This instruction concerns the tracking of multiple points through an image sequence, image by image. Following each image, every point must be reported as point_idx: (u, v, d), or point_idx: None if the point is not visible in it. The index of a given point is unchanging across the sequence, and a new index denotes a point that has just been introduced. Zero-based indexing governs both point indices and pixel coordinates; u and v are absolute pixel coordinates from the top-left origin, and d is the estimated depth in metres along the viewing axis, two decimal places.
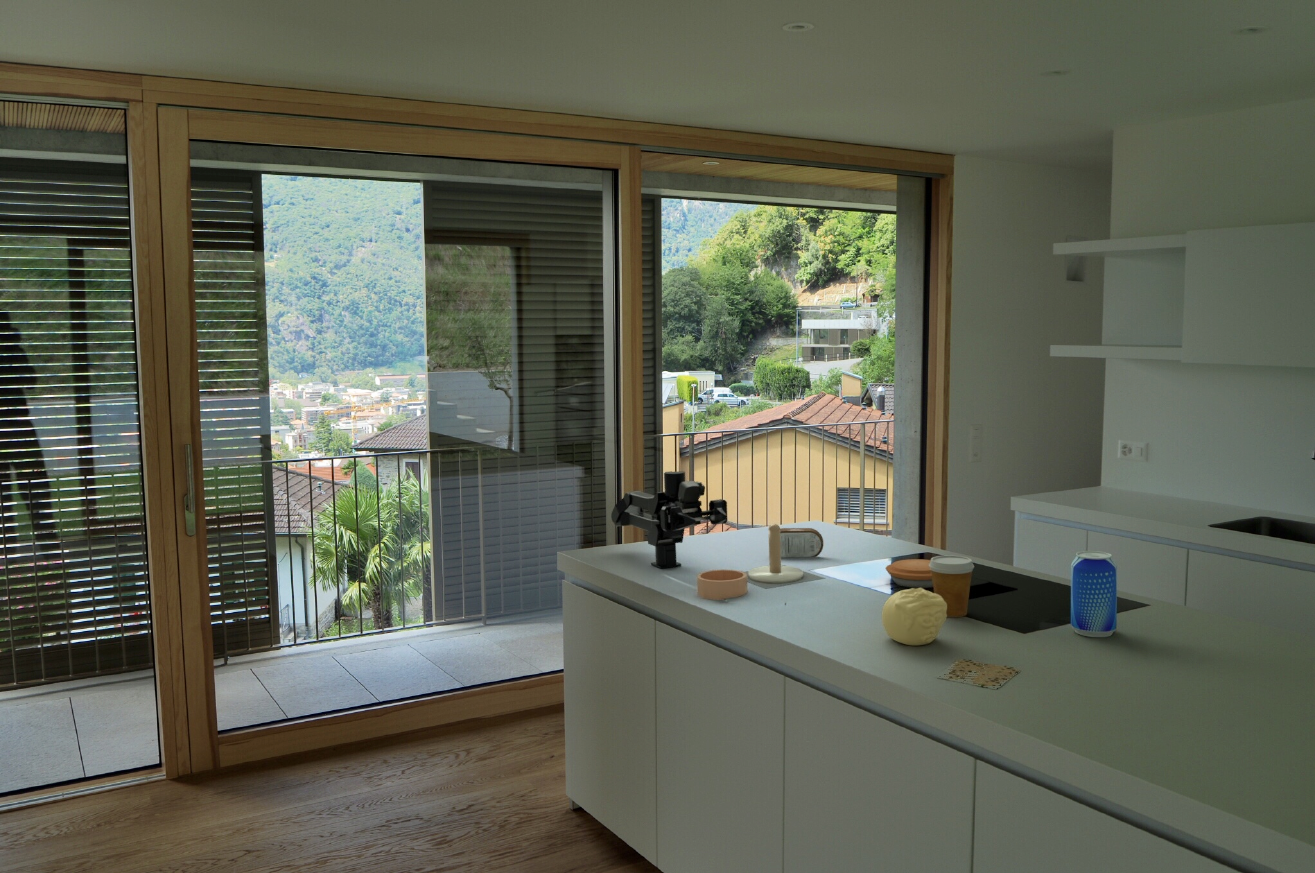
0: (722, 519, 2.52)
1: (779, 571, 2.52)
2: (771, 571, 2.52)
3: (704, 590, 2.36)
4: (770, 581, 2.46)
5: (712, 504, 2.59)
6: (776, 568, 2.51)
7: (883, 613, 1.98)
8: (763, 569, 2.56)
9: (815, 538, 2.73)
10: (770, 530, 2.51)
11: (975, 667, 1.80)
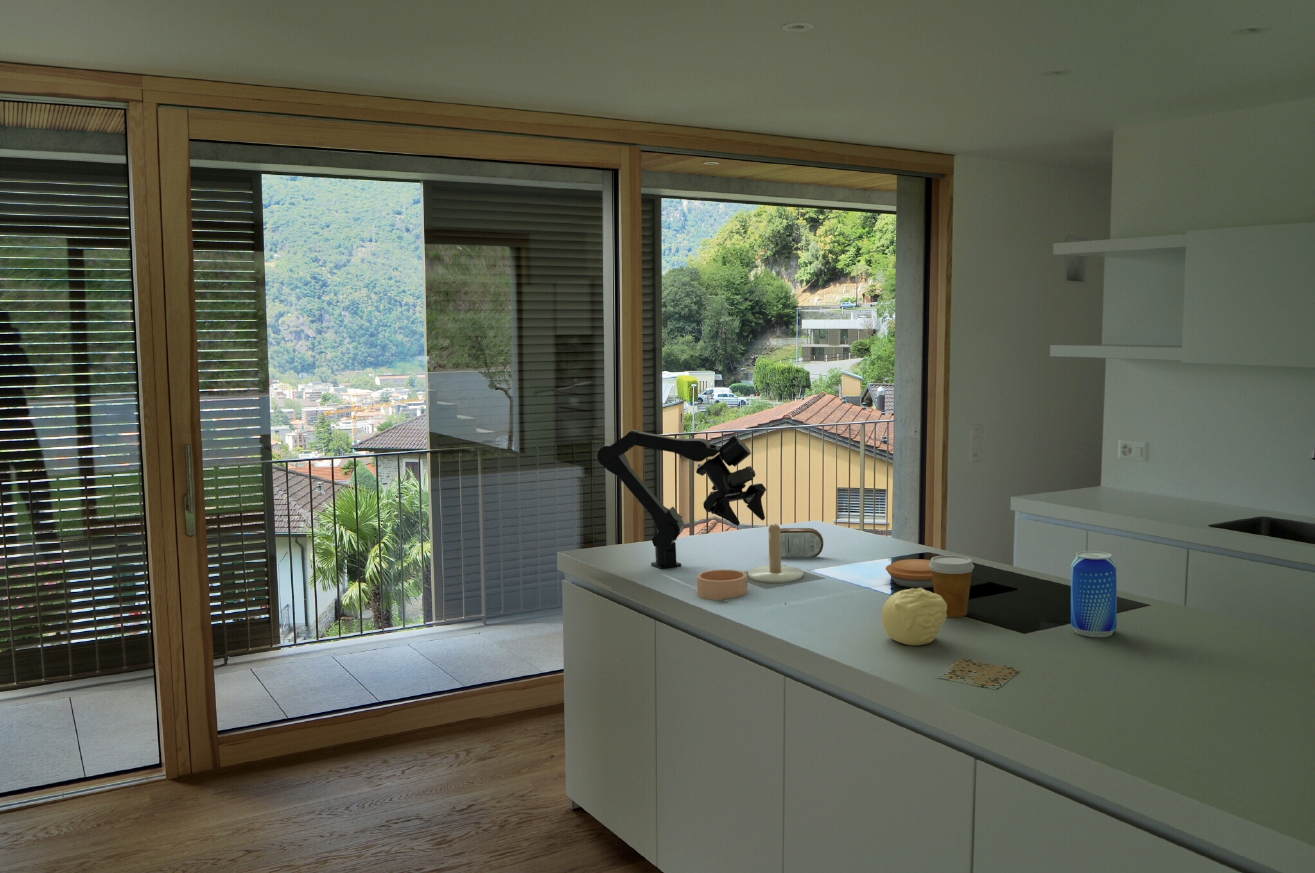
0: (758, 516, 2.62)
1: (779, 571, 2.52)
2: (771, 571, 2.52)
3: (704, 590, 2.36)
4: (770, 581, 2.46)
5: (753, 488, 2.65)
6: (776, 568, 2.51)
7: (883, 613, 1.98)
8: (763, 569, 2.56)
9: (815, 538, 2.73)
10: (770, 530, 2.51)
11: (975, 667, 1.80)
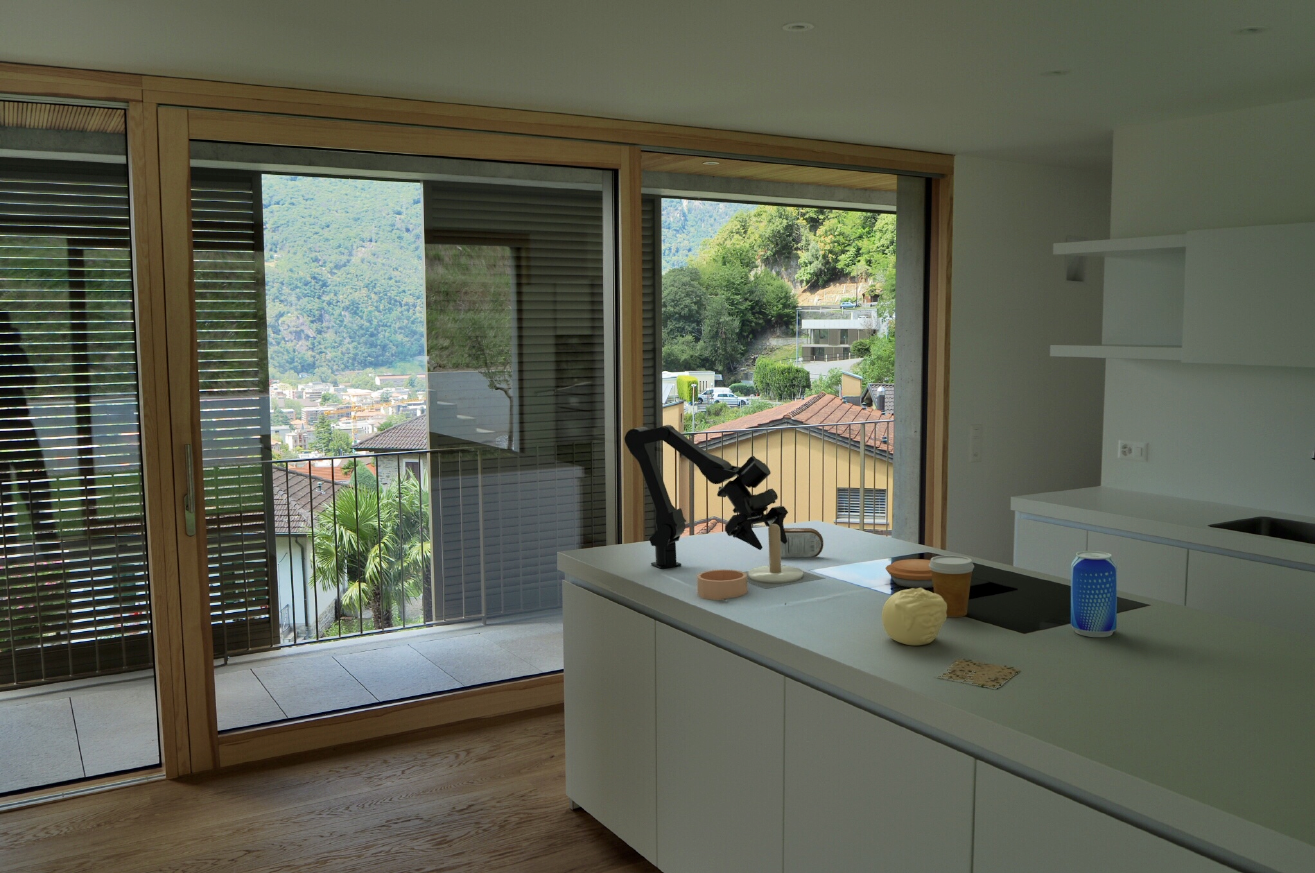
0: (780, 539, 2.57)
1: (779, 571, 2.52)
2: (771, 571, 2.52)
3: (704, 590, 2.36)
4: (770, 581, 2.46)
5: (774, 510, 2.60)
6: (776, 568, 2.51)
7: (883, 613, 1.98)
8: (763, 569, 2.56)
9: (815, 538, 2.73)
10: (770, 530, 2.51)
11: (975, 666, 1.80)
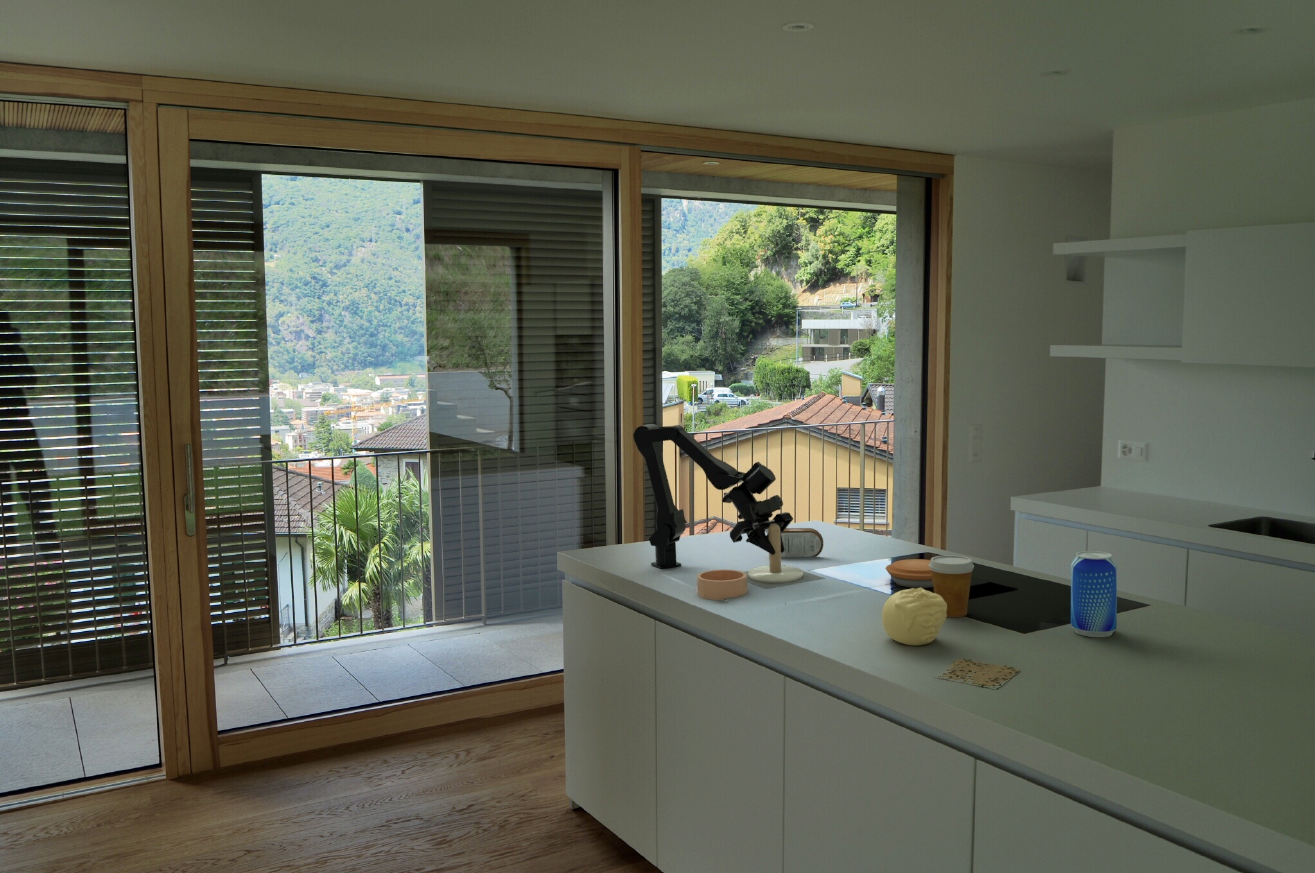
0: None
1: (779, 571, 2.52)
2: (771, 571, 2.52)
3: (704, 590, 2.36)
4: (770, 581, 2.46)
5: (779, 517, 2.58)
6: (776, 568, 2.51)
7: (883, 613, 1.98)
8: (763, 569, 2.56)
9: (815, 538, 2.73)
10: (770, 530, 2.51)
11: (975, 666, 1.80)
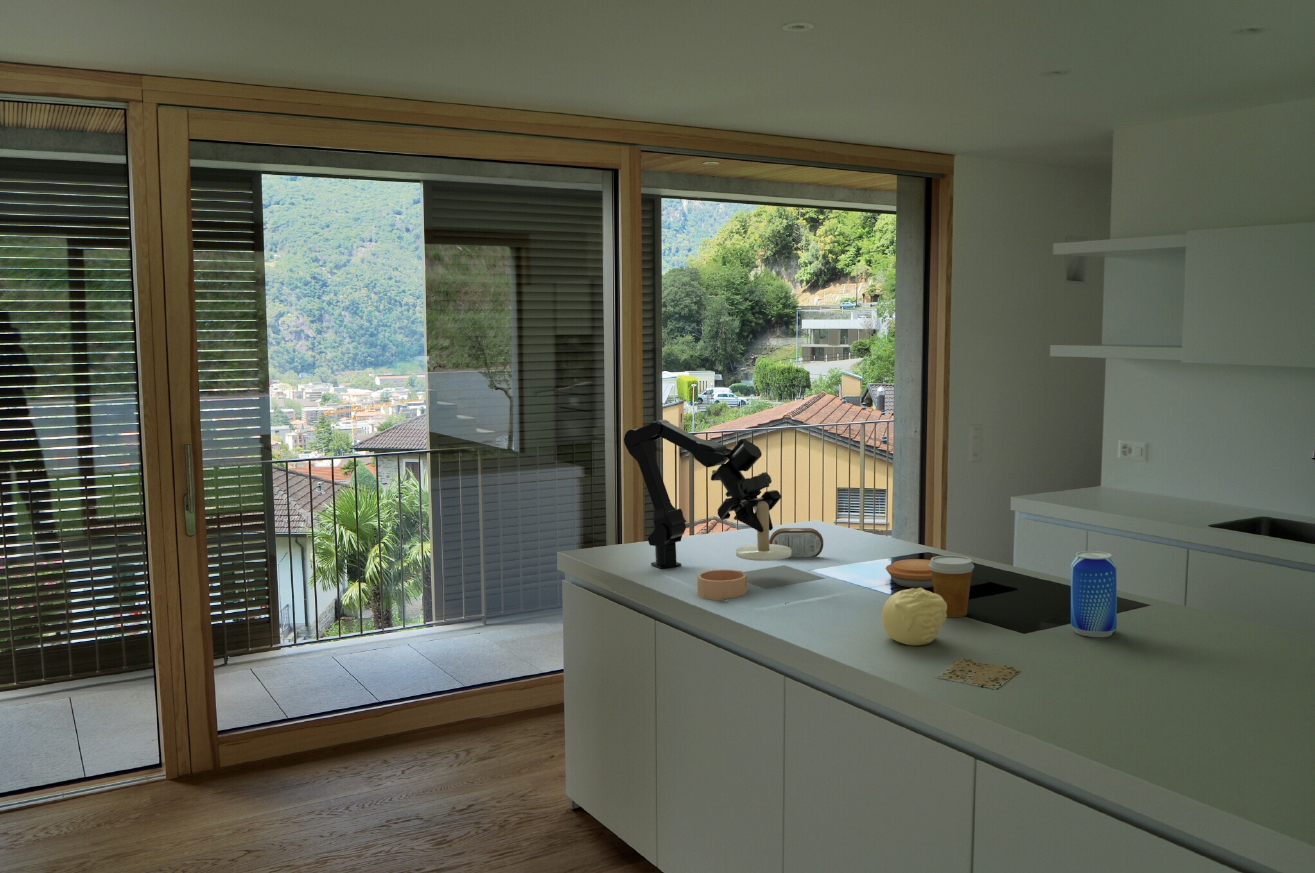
0: None
1: (767, 549, 2.49)
2: (759, 549, 2.49)
3: (704, 590, 2.36)
4: (758, 559, 2.43)
5: (768, 494, 2.55)
6: (764, 546, 2.48)
7: (883, 613, 1.98)
8: (751, 547, 2.53)
9: (815, 538, 2.73)
10: (758, 507, 2.48)
11: (975, 666, 1.80)
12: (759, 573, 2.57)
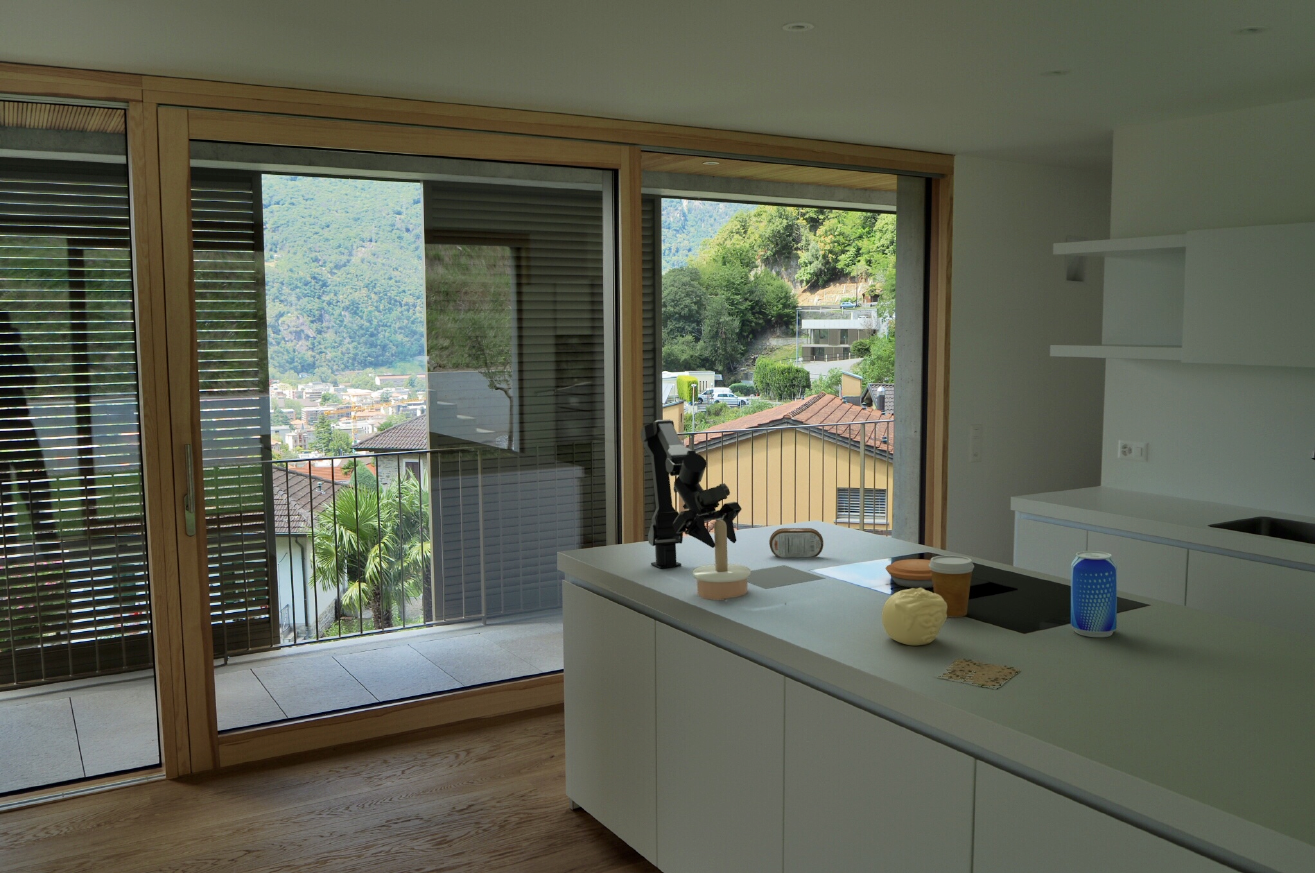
0: (729, 538, 2.41)
1: (725, 570, 2.38)
2: (717, 570, 2.39)
3: (704, 590, 2.36)
4: (714, 580, 2.33)
5: (727, 507, 2.45)
6: (722, 566, 2.38)
7: (883, 613, 1.98)
8: (709, 568, 2.43)
9: (815, 538, 2.73)
10: (715, 526, 2.38)
11: (975, 666, 1.80)
12: (759, 573, 2.57)
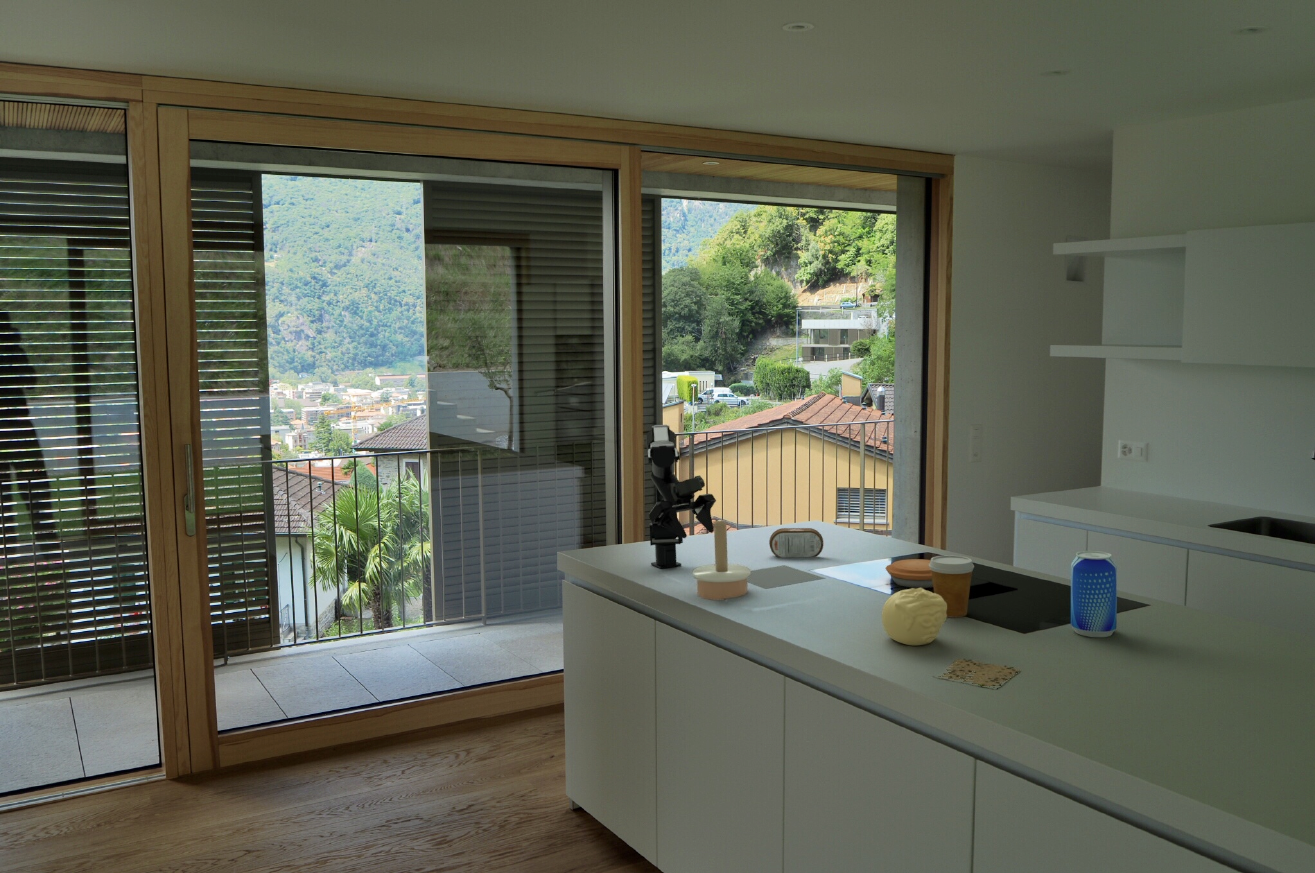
0: (707, 528, 2.49)
1: (725, 570, 2.38)
2: (717, 570, 2.39)
3: (704, 590, 2.36)
4: (714, 580, 2.33)
5: (702, 498, 2.52)
6: (722, 566, 2.38)
7: (883, 613, 1.98)
8: (709, 568, 2.43)
9: (815, 538, 2.73)
10: (715, 526, 2.38)
11: (975, 666, 1.80)
12: (759, 573, 2.57)
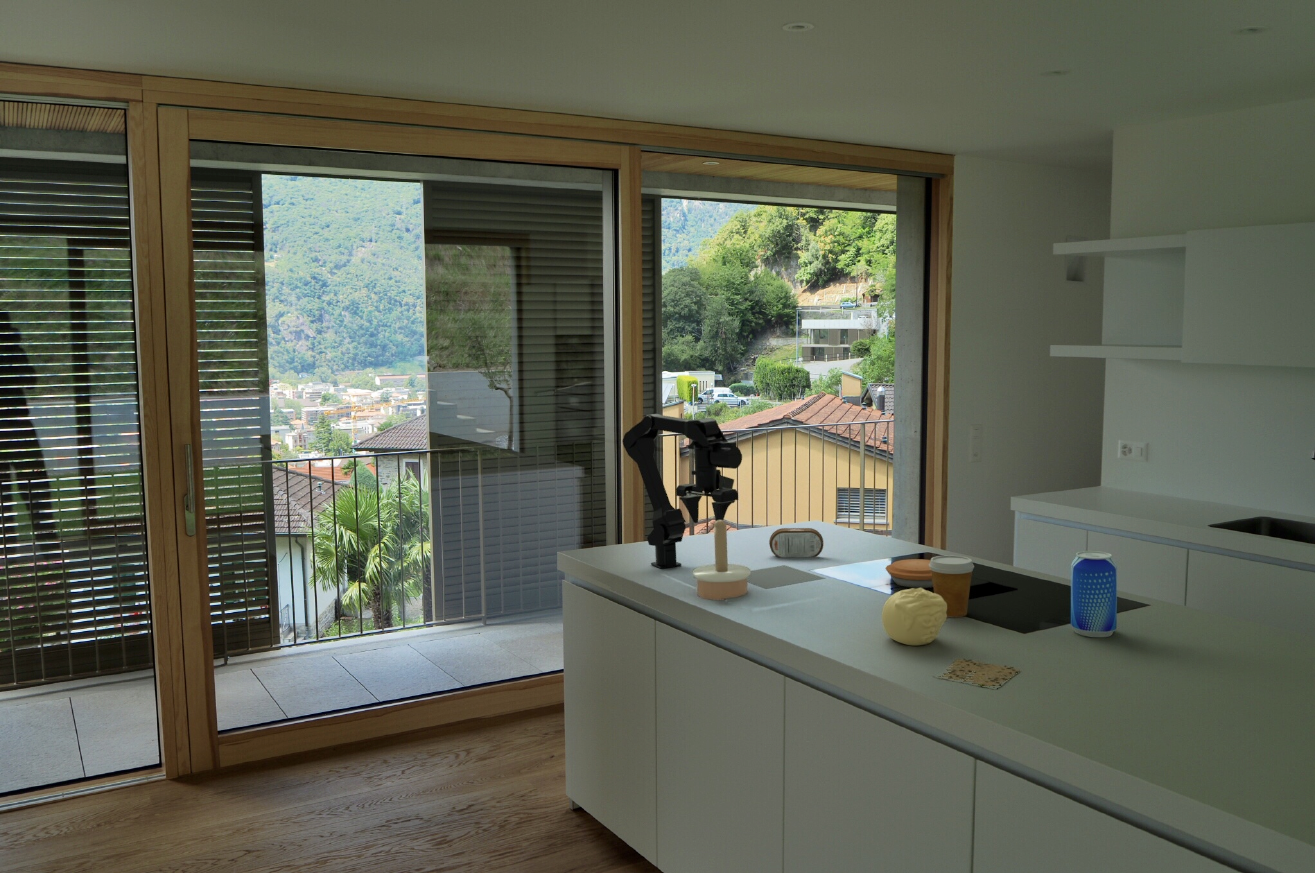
0: (694, 517, 2.63)
1: (725, 570, 2.38)
2: (717, 570, 2.39)
3: (704, 590, 2.36)
4: (714, 580, 2.33)
5: None
6: (722, 566, 2.38)
7: (883, 613, 1.98)
8: (709, 568, 2.43)
9: (815, 538, 2.73)
10: (715, 526, 2.38)
11: (975, 666, 1.80)
12: (759, 573, 2.57)
